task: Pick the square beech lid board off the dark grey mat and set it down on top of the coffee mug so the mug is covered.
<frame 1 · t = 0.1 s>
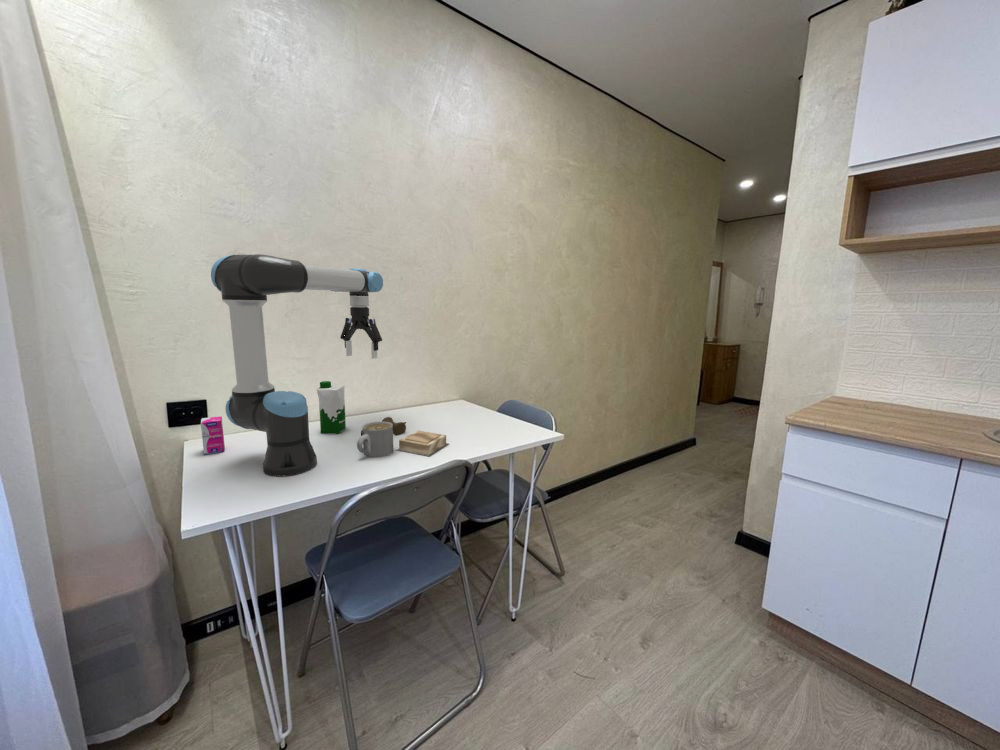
hand: (361, 357, 170), 28 cm above the table, tool pointing down, fingers open, 13 cm apart
supplement box: (214, 451, 137), on the table
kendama: (386, 436, 156), on the table
coffee mug: (374, 455, 137), on the table
milk carton: (333, 431, 160), on the table
lid: (423, 447, 143), point 1 cm above the table, touching mat
mat: (423, 448, 143), on the table
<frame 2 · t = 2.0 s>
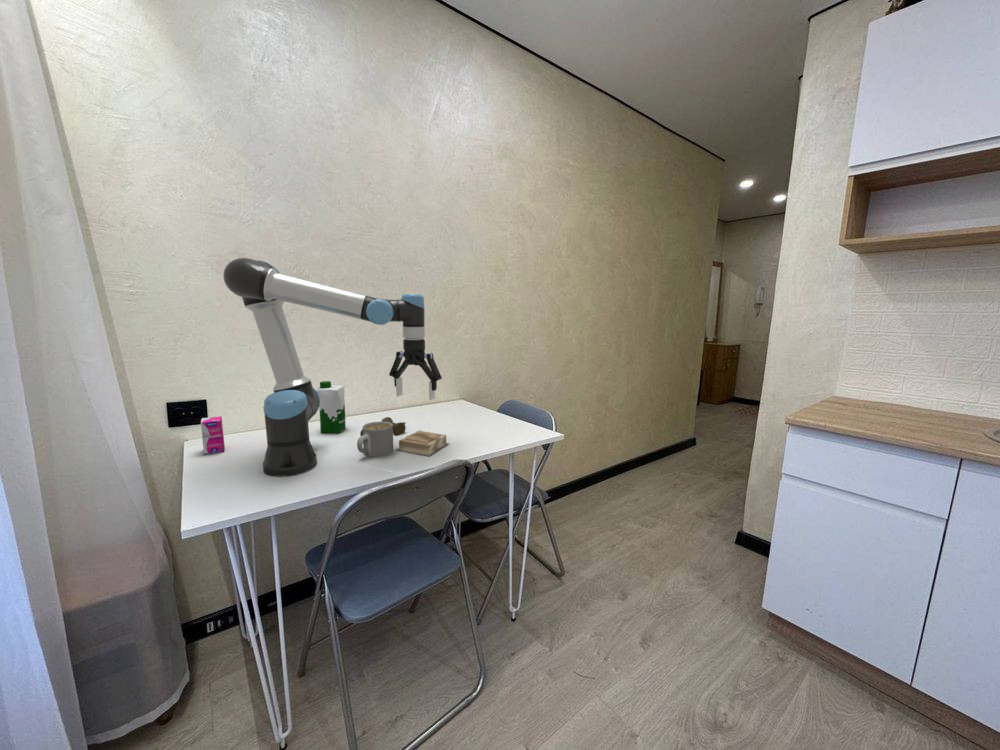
hand: (415, 397, 144), 18 cm above the table, tool pointing down, fingers open, 13 cm apart
nothing on the table moved.
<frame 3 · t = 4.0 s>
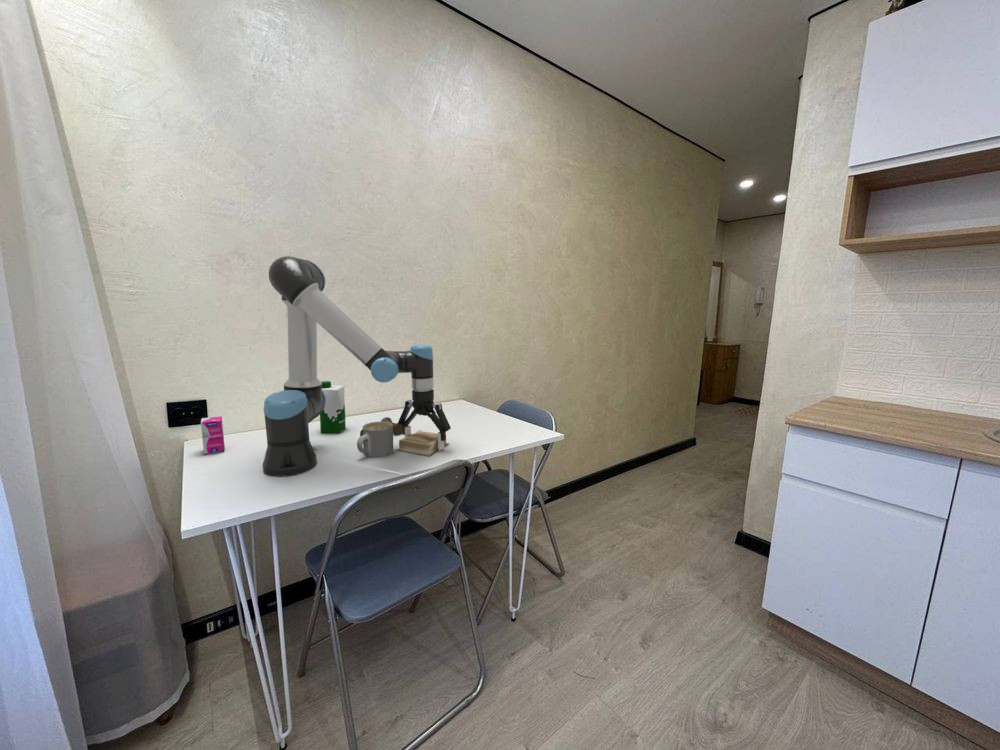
hand: (424, 446, 143), 1 cm above the table, tool pointing down, fingers open, 13 cm apart
nothing on the table moved.
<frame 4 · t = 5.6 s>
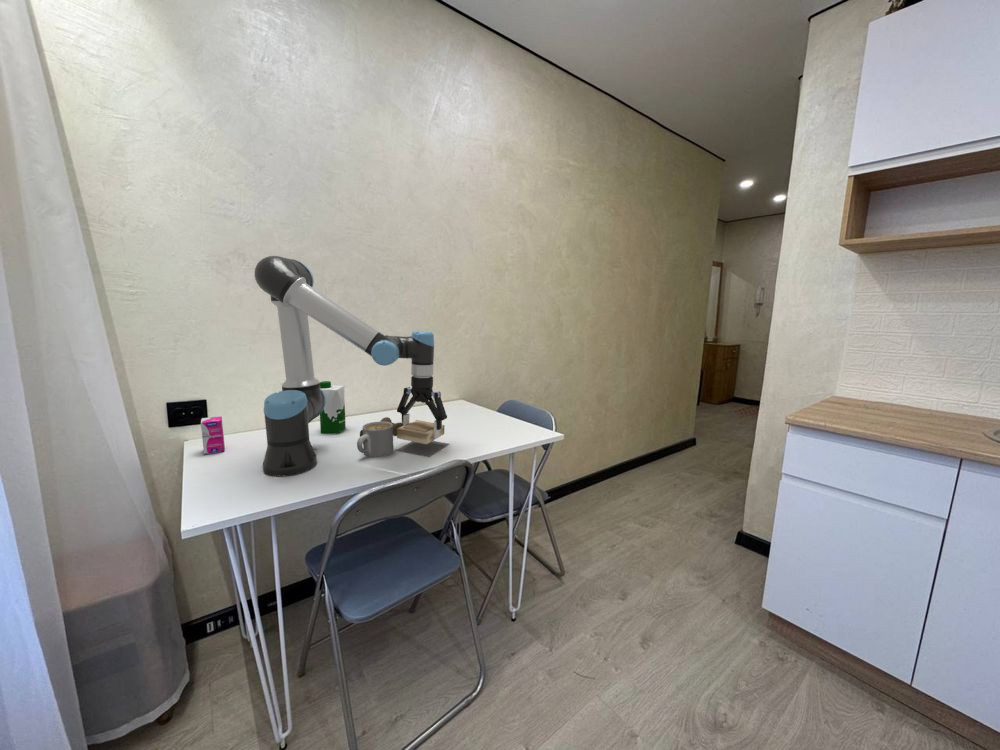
hand: (421, 435, 142), 5 cm above the table, tool pointing down, fingers closed on lid, 12 cm apart
lid: (421, 436, 142), point 5 cm above the table, touching gripper
everything else where it was.
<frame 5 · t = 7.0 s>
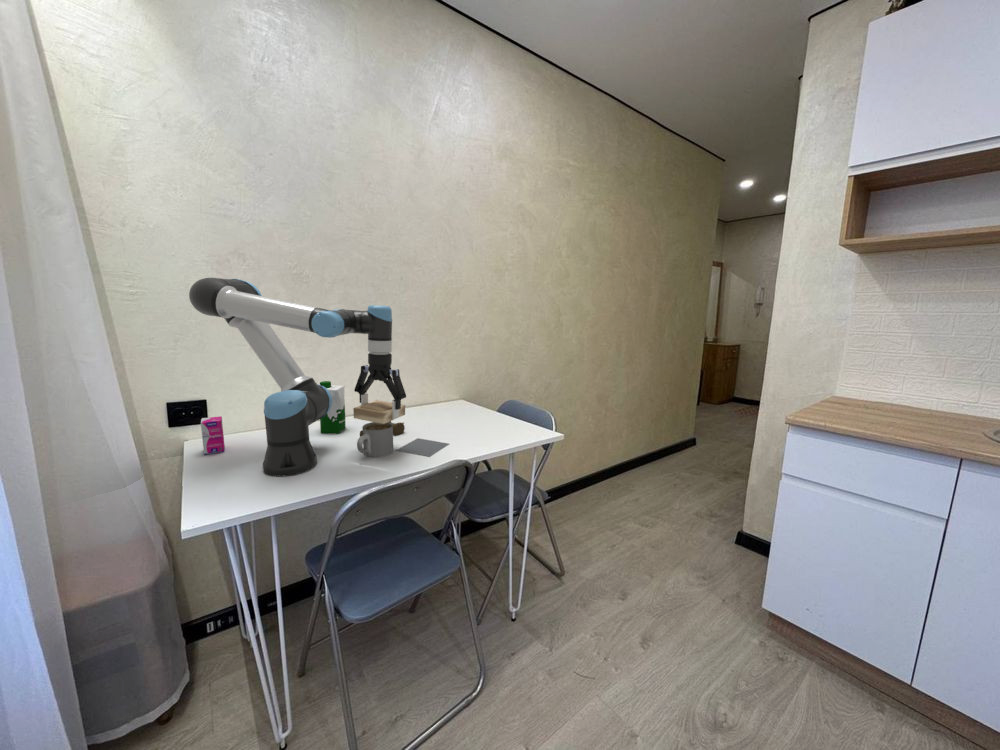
hand: (379, 415, 135), 14 cm above the table, tool pointing down, fingers closed on lid, 12 cm apart
lid: (380, 416, 136), point 13 cm above the table, touching gripper
everything else where it was.
when the fingers open (10 cm above the table, at t = 8.6 s): lid stays where it is, resting on coffee mug.
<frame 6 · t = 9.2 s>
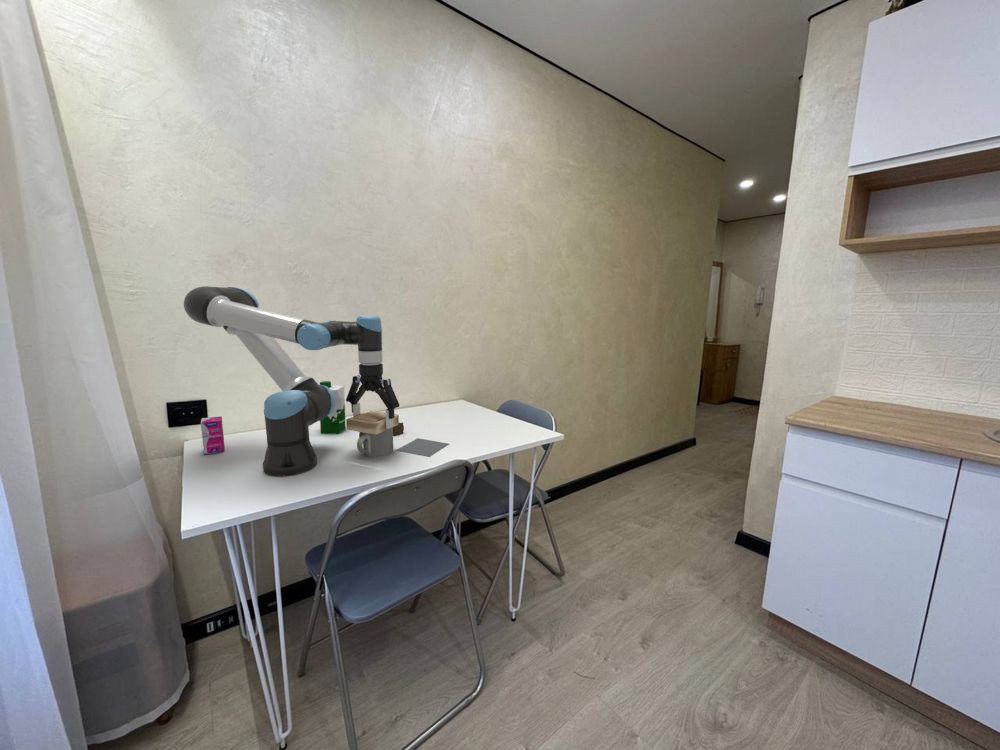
hand: (373, 425, 135), 11 cm above the table, tool pointing down, fingers open, 13 cm apart
coffee mug: (374, 455, 137), on the table, touching lid
lid: (373, 426, 135), point 10 cm above the table, touching coffee mug
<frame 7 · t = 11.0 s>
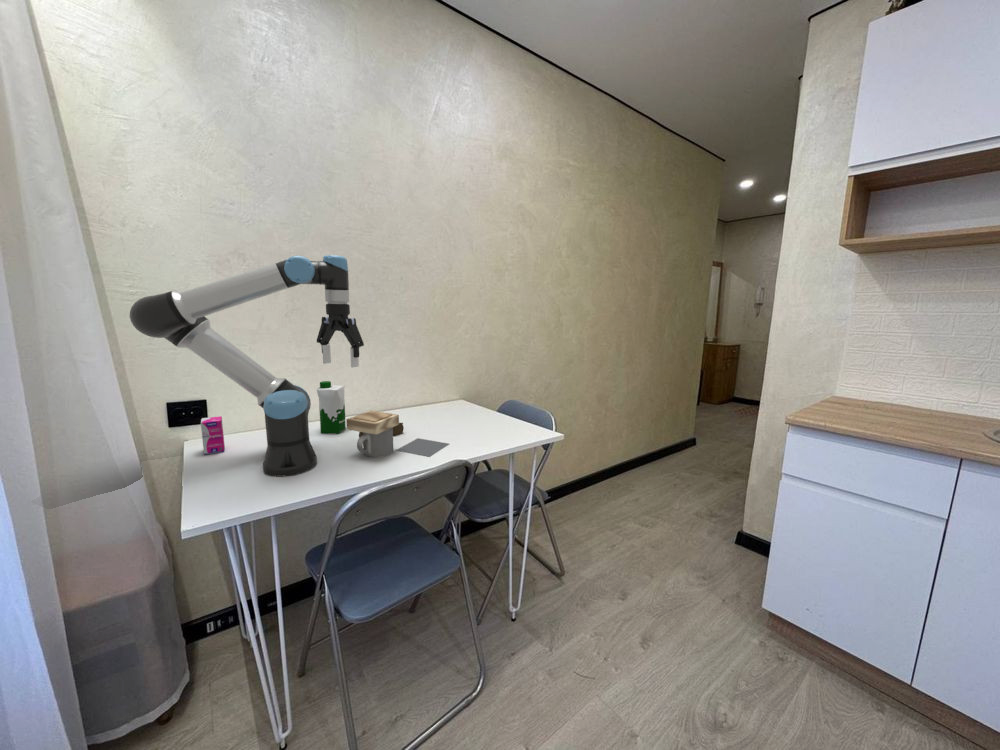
hand: (340, 365, 138), 30 cm above the table, tool pointing down, fingers open, 13 cm apart
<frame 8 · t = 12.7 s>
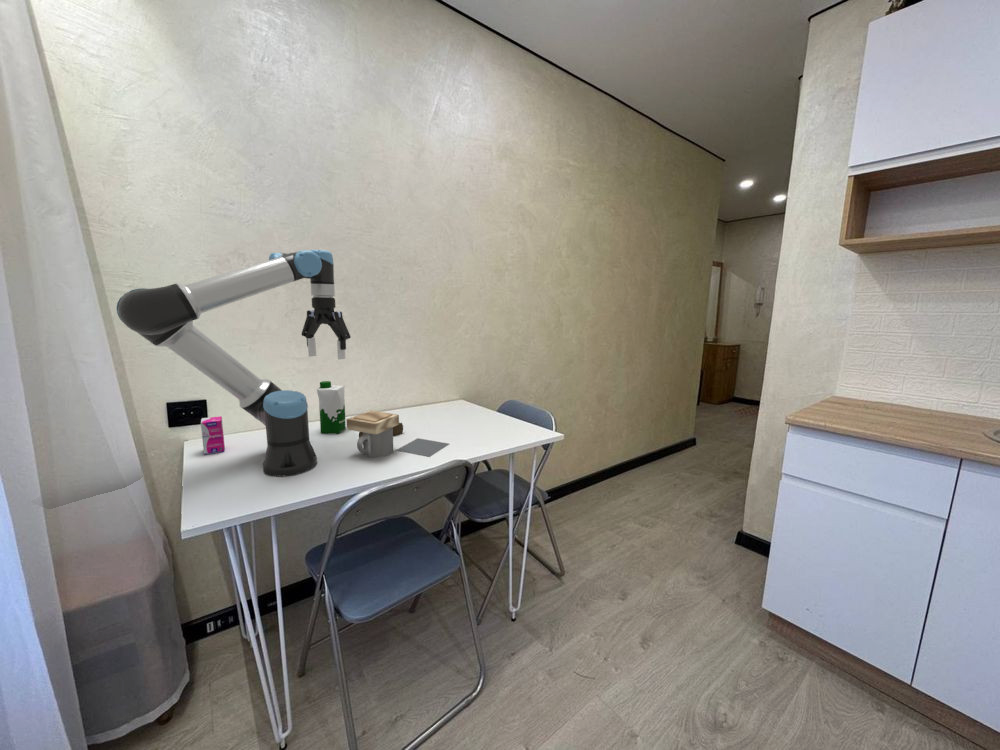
hand: (326, 357, 142), 32 cm above the table, tool pointing down, fingers open, 13 cm apart
at the end: lid 0.2 cm from the coffee mug (horizontally); lid point 9.9 cm above the table; lid tilted 0° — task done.
